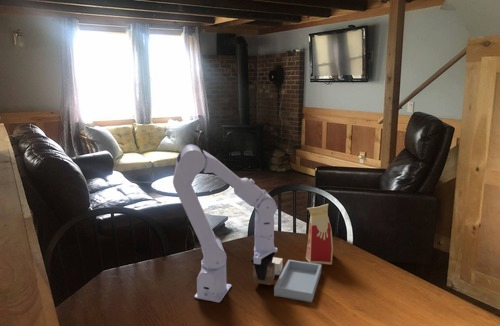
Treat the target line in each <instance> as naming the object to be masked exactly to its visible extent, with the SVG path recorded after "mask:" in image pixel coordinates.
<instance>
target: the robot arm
mask: <svg viewBox="0 0 500 326" xmlns="http://www.w3.org/2000/svg"><path fill="white" fill-rule="evenodd" d="M175 161H176V162H175V167H174V173H173V177H172V184H173V188H174V190H175V192H176V194H177V197H178V198H179V201H180V203H181V205H182V207H183V209H184V212H185V213H186V215H187V218H188V220H189V222H190V224H191V226H192V229H193V231H194V232H195V235H196V237H197V239H198V241H199V244H200V249H201V251H202V255H203V258H202V259H201V260H200V261H201V262H200V264H201V269H200V271H199V273H198V275H197V278H196V294H194V299H195V298H196V299H199V300H204V301H209V302H210V301H211V302H214V303H220V302H221V301H222V300H224V299H223V298H224V297H225V296H226V295H227V293H228V292H229V291H230V289H231V287H232V284H230V283H227V257H228V256H227V253H226V251H225V250H224V247H223V244H222V243H223V242H222V240H221V239H220V238H219V237H217V235H216V234H215V233H214V230H213V229H212V227H211V225H210V222H209V221H208V218H207V216H206V214H205V212H204V210H203V207H202V205H201V202H200V200H199V198H198V196H197V194H196V191H195V189H194V186H193V182H194V181H195V178H196V177H197V175H199V174H200V172H203V174H208V173H209V174H211V173H213V174H214V175H216V176H217V177H218V178H220V179H222V181H224V182H225V183H226V184H228V185H229V186H231V187H233V194H234V195H235V196H237V197H238V198H239V199H241V200H242V201H243V202H244V203H245V204H247V205H249V206H250V207H251V208H254V246H253V252H254V253H253V255H252V257H251V258H250V262H251V264H252V265H253V266H254V267H255V270H256V274H257V278H258V280H265V278H266V273H267V267H268V265H269V262H272V260H273V257H275V254H276V253H277V252H278V247H275V242H274V241H275V214H277V213H276V212H277V211H278V206H277V203H276V201H275V200H274V198H273V197H272V196H271V195H270V194H269V193H268V192H267V190H266V189H264V188H263V189H262V188H260V187H259V186H258V185H256V184H255V183H256V182H255V180H254V179H252V178H248V177H242V178H241V177H239V176H238V175H237V174H235V173H234V172H233V171H232V170H230V169H229V168H228V167H227V166H226V165H225V164H223V163H222V162H221V161H220V160H219V159H217V158H216V156H213V155H212V154H210V153H209V152H208V151H206V150H204V149H201V148H200V147H199V146H198V145H196V144H191V143H190V144H187V145H184V146H183V147H182V148H181V150H180V151H179V153H178V154H177V156H176V160H175Z"/></svg>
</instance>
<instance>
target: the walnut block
mask: <svg viewBox="0 0 500 326" xmlns="http://www.w3.org/2000/svg"><path fill="white" fill-rule="evenodd" d="M275 276H276V275H275V263H272V262H269V265H268V267H267V273H266V278H265V280H258V278H257V274H256V270H255V267H254V265H253V267H252V282H253V283H256V284H262V285H267V286H271V285H272V283H273V282H274V280H275Z"/></svg>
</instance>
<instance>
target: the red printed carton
mask: <svg viewBox="0 0 500 326" xmlns="http://www.w3.org/2000/svg"><path fill="white" fill-rule="evenodd" d="M306 209H307V211H309V212H308V213H309V215H310V217H309V223H308V234H307V235H308V237H307V246H306V253H305V259H306V260H307V262H308V263H315V264H322V265H331V266H332V265H333V252H334V245H333V243H334V242H333V231H332V226H331V223H330V217H329V215H328V210H329V203H326V204H322V205H320V206H315V207H314V206H313V207H307V208H306Z"/></svg>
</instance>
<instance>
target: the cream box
mask: <svg viewBox="0 0 500 326" xmlns="http://www.w3.org/2000/svg"><path fill="white" fill-rule="evenodd" d="M272 263H275V276H280V275H281V273H282V271H283V258H281V257H275V256H274V257H273V260H272Z"/></svg>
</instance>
